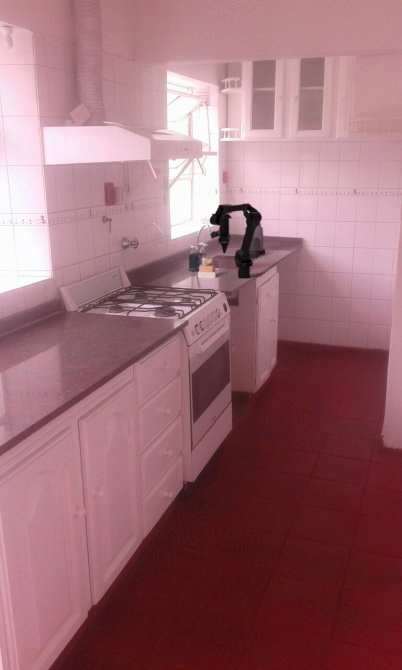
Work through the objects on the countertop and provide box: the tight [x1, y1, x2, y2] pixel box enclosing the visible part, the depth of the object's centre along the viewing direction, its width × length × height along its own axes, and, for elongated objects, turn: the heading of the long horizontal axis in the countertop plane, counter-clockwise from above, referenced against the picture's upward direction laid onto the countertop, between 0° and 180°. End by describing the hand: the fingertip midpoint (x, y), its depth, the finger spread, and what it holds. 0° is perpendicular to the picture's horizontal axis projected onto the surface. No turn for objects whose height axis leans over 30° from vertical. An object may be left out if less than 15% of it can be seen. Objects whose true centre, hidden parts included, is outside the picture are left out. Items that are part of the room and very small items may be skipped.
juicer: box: [240, 222, 266, 259], centre depth 438 cm, size 30×16×24 cm, turn 166°
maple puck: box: [202, 257, 214, 266], centre depth 361 cm, size 6×6×4 cm
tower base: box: [197, 269, 218, 279], centre depth 363 cm, size 10×10×4 cm
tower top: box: [198, 263, 216, 272], centre depth 362 cm, size 8×8×4 cm
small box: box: [188, 252, 207, 273], centre depth 383 cm, size 11×6×10 cm, turn 143°
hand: (224, 252), depth 366 cm, fingers open, 9 cm apart
